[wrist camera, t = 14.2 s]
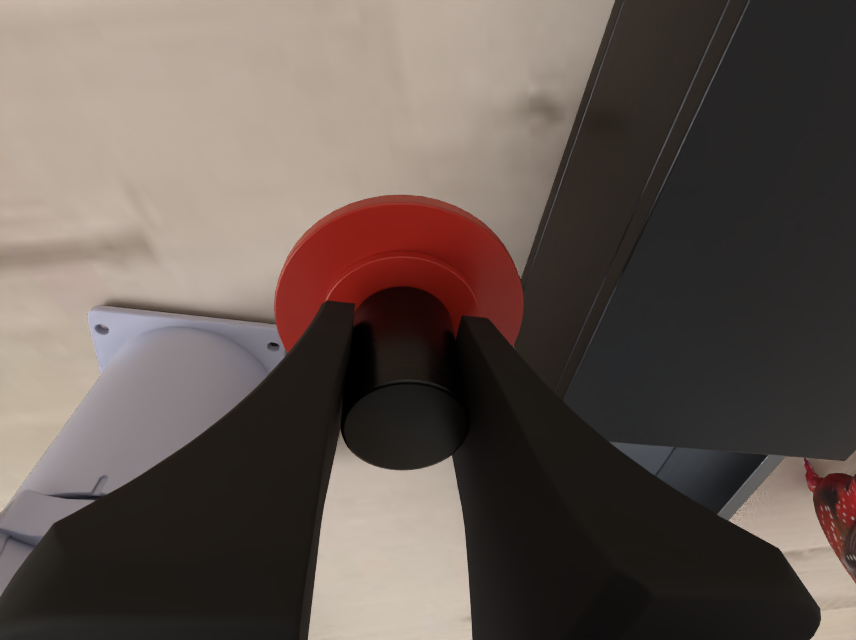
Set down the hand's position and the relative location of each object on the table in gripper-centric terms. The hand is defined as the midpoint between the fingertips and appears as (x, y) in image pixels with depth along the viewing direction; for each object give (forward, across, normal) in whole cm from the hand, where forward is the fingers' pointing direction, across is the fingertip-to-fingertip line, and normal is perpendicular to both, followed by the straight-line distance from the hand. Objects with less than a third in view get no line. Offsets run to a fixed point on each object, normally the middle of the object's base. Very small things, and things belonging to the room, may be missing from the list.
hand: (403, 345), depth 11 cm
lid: (+1, 0, 0) cm, 1 cm away
